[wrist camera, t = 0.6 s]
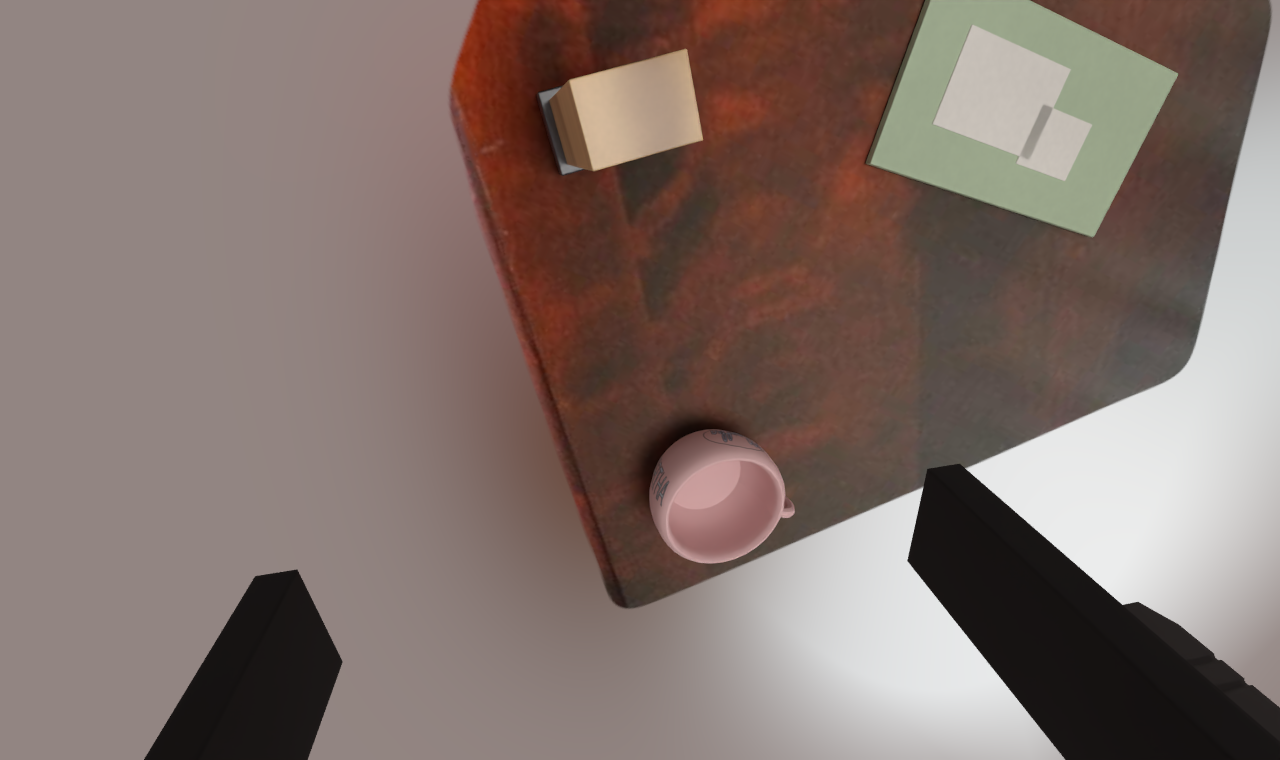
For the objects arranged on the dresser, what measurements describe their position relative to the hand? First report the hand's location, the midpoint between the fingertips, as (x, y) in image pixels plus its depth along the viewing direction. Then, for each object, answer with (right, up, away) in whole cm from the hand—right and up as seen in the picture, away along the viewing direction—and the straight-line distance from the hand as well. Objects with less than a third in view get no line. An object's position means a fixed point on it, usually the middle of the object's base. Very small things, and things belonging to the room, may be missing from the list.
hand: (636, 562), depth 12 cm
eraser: (-3, +19, +21) cm, 29 cm away
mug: (+6, -3, +33) cm, 34 cm away
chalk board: (+27, +23, +27) cm, 45 cm away
